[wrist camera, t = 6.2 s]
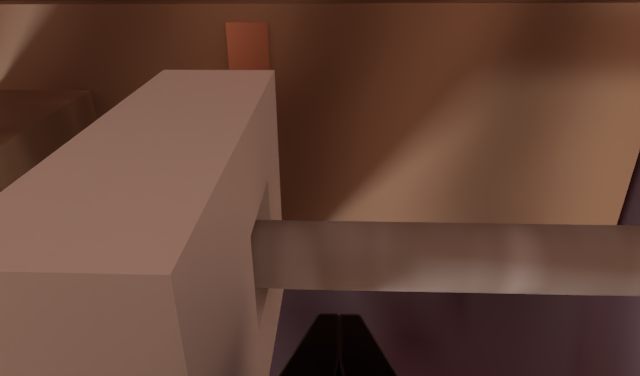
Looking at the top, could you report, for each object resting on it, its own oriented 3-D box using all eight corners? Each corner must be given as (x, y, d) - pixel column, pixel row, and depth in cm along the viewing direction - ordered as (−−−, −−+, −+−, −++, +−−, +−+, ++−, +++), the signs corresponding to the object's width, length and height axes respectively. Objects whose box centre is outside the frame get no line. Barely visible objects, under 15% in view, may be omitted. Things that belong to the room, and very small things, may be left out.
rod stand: (663, -2, 14) (976, 60, 7) (583, 278, 19) (728, 485, 12) (-10, 0, 15) (-320, 57, 8) (68, 268, 20) (-88, 457, 13)
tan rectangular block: (274, 70, 13) (170, 274, 5) (284, 281, 16) (229, 610, 8) (163, 69, 13) (-103, 269, 5) (195, 279, 17) (56, 602, 9)
